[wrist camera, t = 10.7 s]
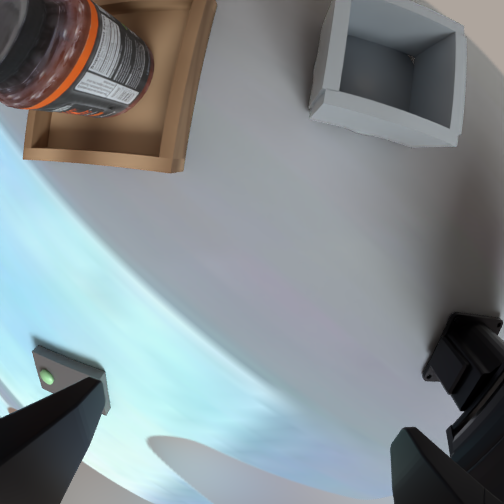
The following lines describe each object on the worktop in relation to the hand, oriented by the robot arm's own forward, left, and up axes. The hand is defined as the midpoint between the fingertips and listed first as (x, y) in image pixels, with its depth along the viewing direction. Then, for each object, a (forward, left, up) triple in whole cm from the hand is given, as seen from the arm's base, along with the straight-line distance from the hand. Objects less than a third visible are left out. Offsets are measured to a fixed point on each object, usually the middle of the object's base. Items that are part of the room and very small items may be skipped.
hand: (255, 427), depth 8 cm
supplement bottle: (+12, -11, -13) cm, 20 cm away
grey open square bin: (-4, -13, -13) cm, 19 cm away
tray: (+12, -11, -13) cm, 21 cm away
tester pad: (+16, +15, -13) cm, 25 cm away
